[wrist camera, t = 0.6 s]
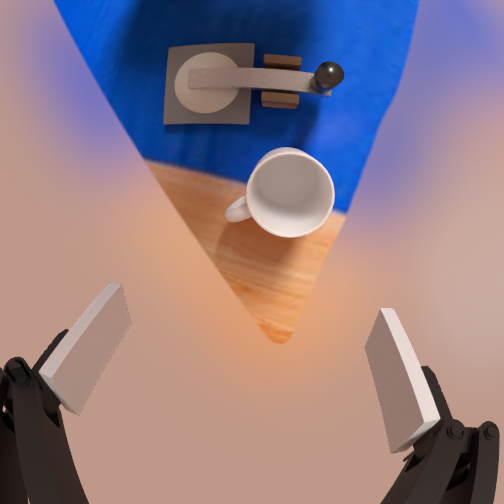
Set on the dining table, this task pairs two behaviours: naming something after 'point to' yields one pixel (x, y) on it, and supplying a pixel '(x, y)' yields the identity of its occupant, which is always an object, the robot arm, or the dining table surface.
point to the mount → (277, 97)
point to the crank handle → (268, 79)
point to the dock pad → (206, 100)
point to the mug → (286, 194)
